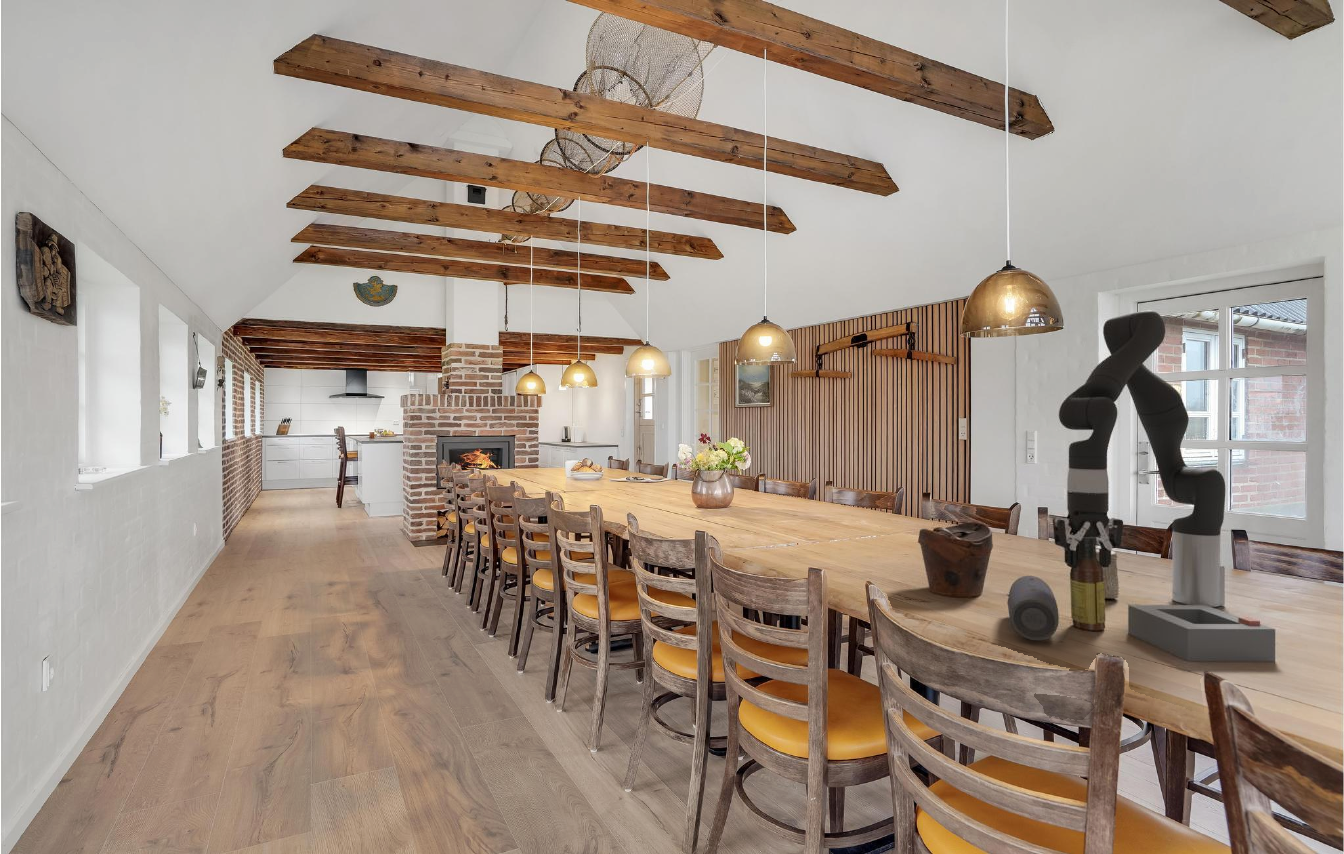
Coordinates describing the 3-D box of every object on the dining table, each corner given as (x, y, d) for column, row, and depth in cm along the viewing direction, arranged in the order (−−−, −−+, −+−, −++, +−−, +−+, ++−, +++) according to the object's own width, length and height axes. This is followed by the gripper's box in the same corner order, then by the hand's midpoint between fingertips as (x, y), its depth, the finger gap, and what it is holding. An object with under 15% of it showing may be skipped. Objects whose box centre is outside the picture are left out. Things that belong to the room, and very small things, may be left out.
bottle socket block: (1205, 633, 136) (1205, 601, 136) (1275, 661, 120) (1275, 624, 120) (1128, 633, 136) (1128, 601, 136) (1187, 661, 120) (1187, 624, 120)
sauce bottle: (1095, 623, 143) (1095, 533, 143) (1111, 632, 137) (1112, 538, 137) (1064, 622, 143) (1064, 533, 143) (1079, 631, 137) (1079, 537, 137)
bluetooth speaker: (1007, 613, 150) (1007, 570, 150) (1054, 619, 146) (1054, 575, 146) (1007, 643, 130) (1007, 593, 130) (1061, 650, 126) (1061, 599, 126)
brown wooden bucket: (908, 594, 167) (909, 524, 167) (927, 579, 184) (928, 516, 183) (984, 606, 157) (985, 532, 157) (997, 589, 173) (998, 522, 173)
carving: (1110, 594, 167) (1110, 548, 167) (1125, 602, 160) (1125, 554, 159) (1083, 593, 168) (1083, 547, 168) (1096, 601, 161) (1096, 553, 161)
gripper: (1109, 488, 144) (1109, 563, 144) (1044, 487, 144) (1044, 563, 144) (1133, 491, 136) (1133, 570, 136) (1064, 491, 136) (1064, 570, 136)
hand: (1087, 566), depth 140 cm, fingers open, 6 cm apart
